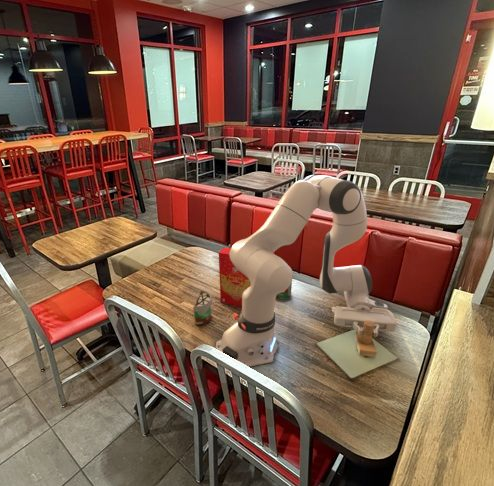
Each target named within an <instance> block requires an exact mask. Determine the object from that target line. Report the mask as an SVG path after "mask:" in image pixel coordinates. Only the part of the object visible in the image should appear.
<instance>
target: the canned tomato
mask: <svg viewBox="0 0 494 486" xmlns="http://www.w3.org/2000/svg"><path fill="white" fill-rule="evenodd" d="M292 284H293V281H292V282H291V284H290V286H289V287H288V288H287V289H286V290H285V291H283V292H281V293H279V294H277V295H276V298H275V301H276V300H277V301H279V302H287V301H289V300H291V299H292V289H293V288H292V286H293V285H292Z"/></svg>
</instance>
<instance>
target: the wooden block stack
mask: <svg viewBox="0 0 494 486" xmlns="http://www.w3.org/2000/svg"><path fill="white" fill-rule="evenodd" d="M374 326H375V323H374V322H373V321H370V320H366V321H364V326H363V335H360V334H358V332H356V333H355V340H356V344H357V348H358V352H359V355H361V356H369V357H376V349H375V346H374V343H373V340H372V338H373V336H372V335H373V331H374Z"/></svg>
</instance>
